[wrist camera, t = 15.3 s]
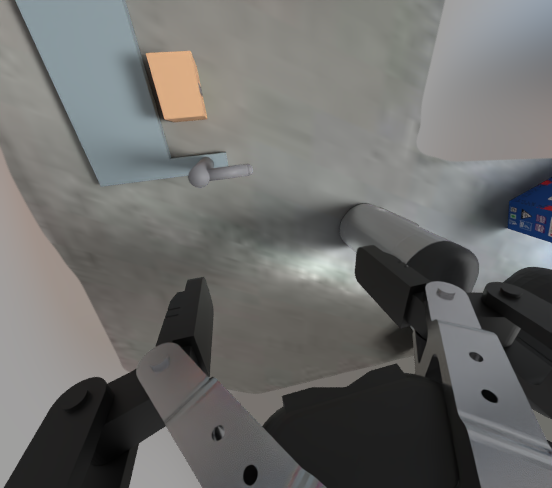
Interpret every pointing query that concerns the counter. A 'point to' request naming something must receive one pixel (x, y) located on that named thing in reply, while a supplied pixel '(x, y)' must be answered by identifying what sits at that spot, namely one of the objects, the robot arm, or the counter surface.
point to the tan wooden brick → (177, 85)
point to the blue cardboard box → (533, 212)
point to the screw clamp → (111, 93)
